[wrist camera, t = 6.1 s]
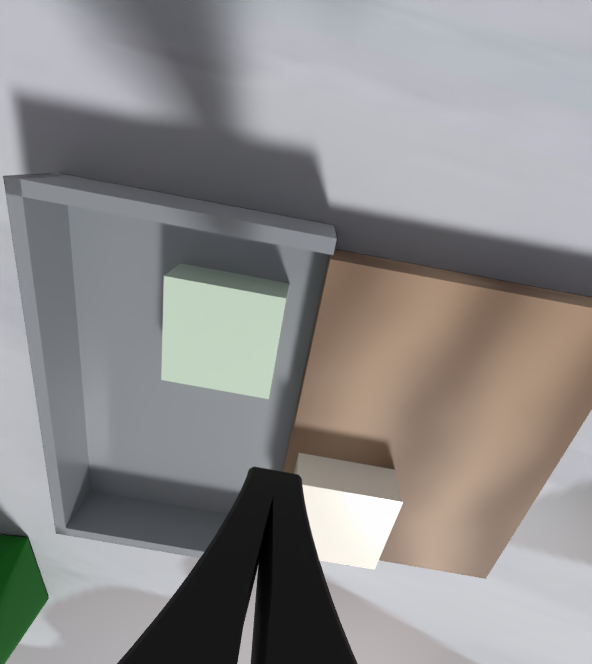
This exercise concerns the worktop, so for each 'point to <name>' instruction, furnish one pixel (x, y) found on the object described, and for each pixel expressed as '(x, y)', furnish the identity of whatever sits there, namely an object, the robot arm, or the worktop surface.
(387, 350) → the walnut plate
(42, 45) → the worktop surface
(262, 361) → the sage tile
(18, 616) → the milk carton
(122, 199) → the box
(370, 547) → the cream tile
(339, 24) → the worktop surface
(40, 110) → the worktop surface
